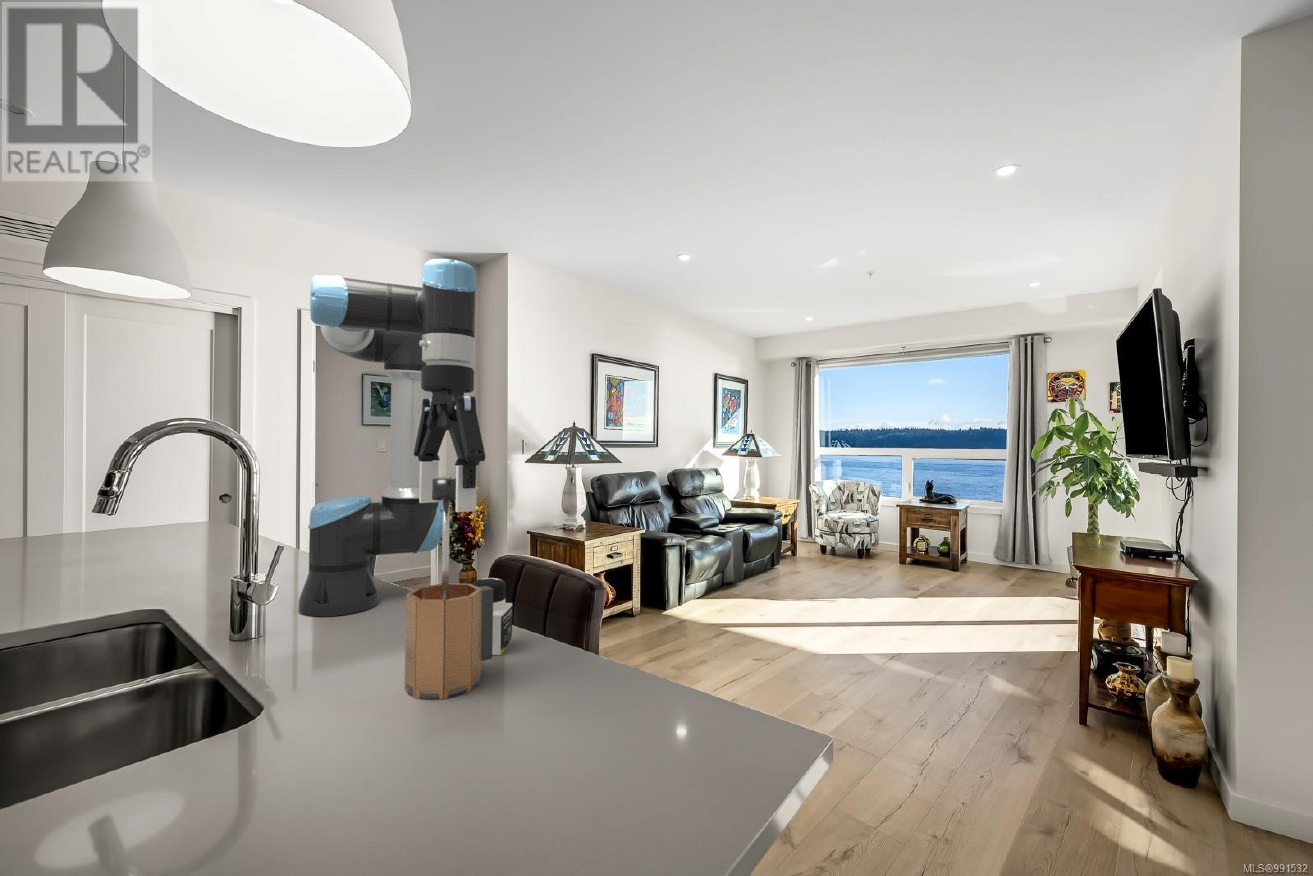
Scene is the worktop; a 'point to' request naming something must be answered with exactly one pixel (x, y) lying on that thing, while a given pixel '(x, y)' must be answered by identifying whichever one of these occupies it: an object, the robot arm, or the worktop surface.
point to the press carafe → (447, 639)
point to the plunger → (444, 523)
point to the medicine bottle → (499, 614)
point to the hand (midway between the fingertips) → (446, 506)
